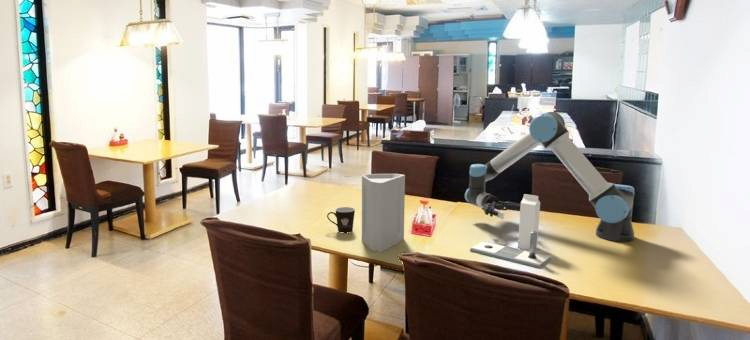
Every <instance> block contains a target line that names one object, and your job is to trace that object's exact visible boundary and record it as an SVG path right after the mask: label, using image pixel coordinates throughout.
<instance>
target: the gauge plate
mask: <svg viewBox="0 0 750 340" xmlns="http://www.w3.org/2000/svg"><path fill="white" fill-rule="evenodd" d="M469 251H470V252H473V253H475V254H481V255H484V256H489V257H493V258H496V259H500V260H505V261H509V262H512V263H516V264H519V265H520V264H521V265H524V266H529V267H533V268H537V269H540V268H541V267H542V266H544V265H545V264H547V263H548V262H549V261H550V260H551V259H552V256H551V255H546V254H543V253H542V254H541V253H538V252H536V258H530V257H529V250H526V249H522V248H517V247H511V246H506V245H503V244H499V243H494V242H490V241H485V240H484V241H483V240H482V241H480V242H479V243H477V244H475V245H474V246H471V248H469Z"/></svg>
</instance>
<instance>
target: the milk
mask: <svg viewBox="0 0 750 340" xmlns="http://www.w3.org/2000/svg"><path fill="white" fill-rule="evenodd" d="M520 204H521V206H520V211H519V222H518V223H519V224H518V238H517V239H518V240H517V249H521V250H525V251H529V249H530V234H531V231H536V232H537V243H538V242H539V241H538V240H539V227H540V225H539V224H540V212H541V201H540V200H539V195H534V194H528V193H527V194H526V193H524V194H523V197H522V200H521V201H520ZM537 247H538V244H537V245H536V248H537Z"/></svg>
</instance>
